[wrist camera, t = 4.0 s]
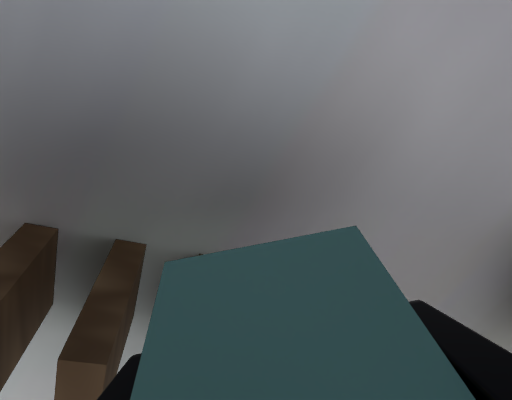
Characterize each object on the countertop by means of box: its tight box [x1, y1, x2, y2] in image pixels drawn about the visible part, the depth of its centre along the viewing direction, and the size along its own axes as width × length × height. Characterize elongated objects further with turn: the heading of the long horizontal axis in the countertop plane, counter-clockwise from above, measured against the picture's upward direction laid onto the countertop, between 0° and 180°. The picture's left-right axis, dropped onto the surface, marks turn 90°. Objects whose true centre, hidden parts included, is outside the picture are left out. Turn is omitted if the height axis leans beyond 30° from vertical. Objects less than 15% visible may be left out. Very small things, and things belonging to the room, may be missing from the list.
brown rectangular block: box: [54, 239, 146, 400], centre depth 17 cm, size 2×5×8 cm, turn 165°
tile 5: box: [0, 223, 58, 391], centre depth 16 cm, size 2×5×8 cm, turn 165°
